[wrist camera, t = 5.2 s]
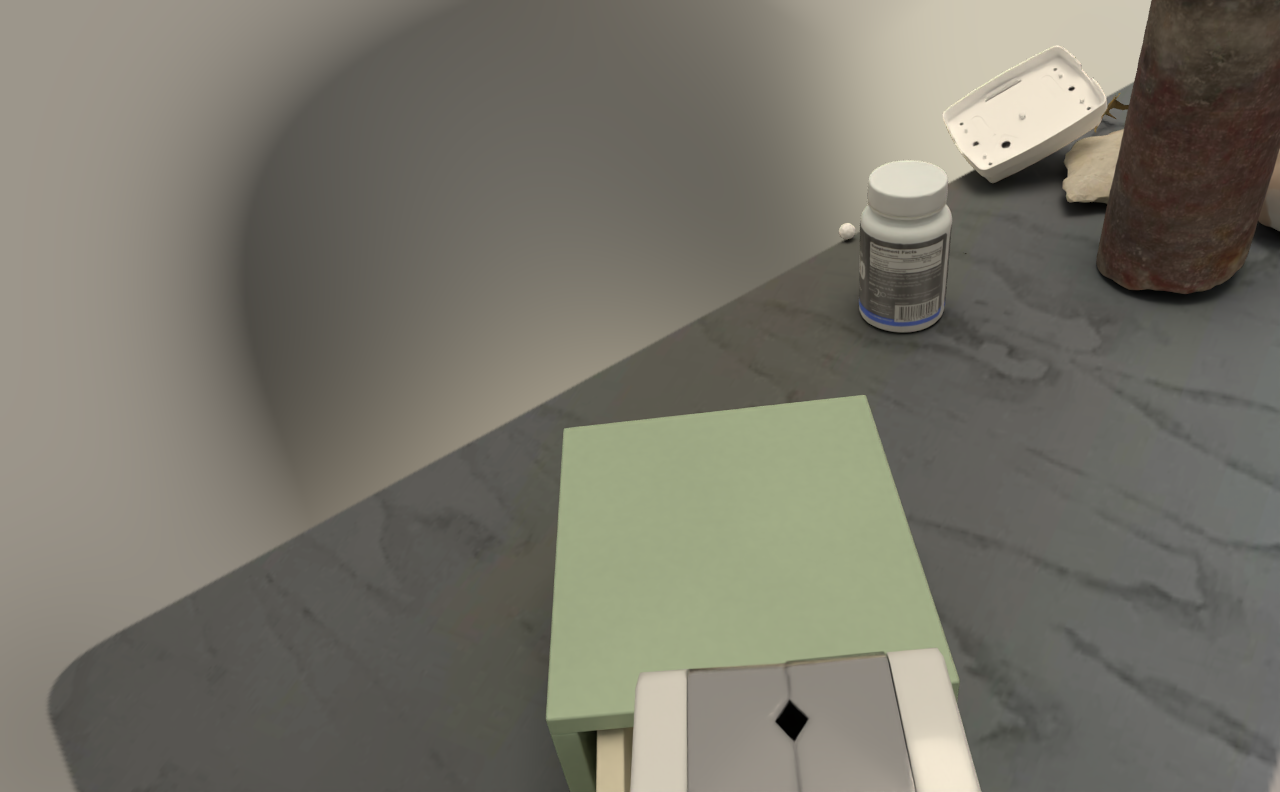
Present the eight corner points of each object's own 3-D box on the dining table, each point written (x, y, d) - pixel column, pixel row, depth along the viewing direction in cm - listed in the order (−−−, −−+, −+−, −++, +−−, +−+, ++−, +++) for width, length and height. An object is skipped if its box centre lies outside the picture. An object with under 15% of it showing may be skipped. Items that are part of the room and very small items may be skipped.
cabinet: (938, 831, 31) (960, 682, 26) (593, 860, 32) (545, 720, 27) (861, 545, 41) (865, 393, 36) (597, 572, 42) (563, 427, 36)
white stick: (967, 255, 58) (960, 274, 58) (844, 220, 61) (838, 238, 61) (966, 252, 57) (959, 271, 57) (841, 217, 60) (834, 235, 60)
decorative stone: (1234, 164, 62) (1240, 118, 60) (1135, 228, 56) (1139, 179, 55) (1111, 150, 68) (1113, 108, 66) (1011, 207, 62) (1011, 162, 61)
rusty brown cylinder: (1139, 221, 58) (1223, -147, 45) (1266, 260, 53) (1400, -139, 41) (1069, 274, 55) (1139, -108, 42) (1198, 321, 50) (1320, -93, 37)
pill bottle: (873, 282, 57) (878, 151, 51) (953, 295, 54) (967, 161, 49) (846, 325, 54) (848, 191, 48) (930, 342, 51) (941, 204, 46)
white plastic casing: (1115, 100, 59) (1119, 129, 61) (1060, 38, 63) (1065, 68, 65) (980, 176, 62) (988, 202, 64) (935, 112, 65) (944, 138, 68)
